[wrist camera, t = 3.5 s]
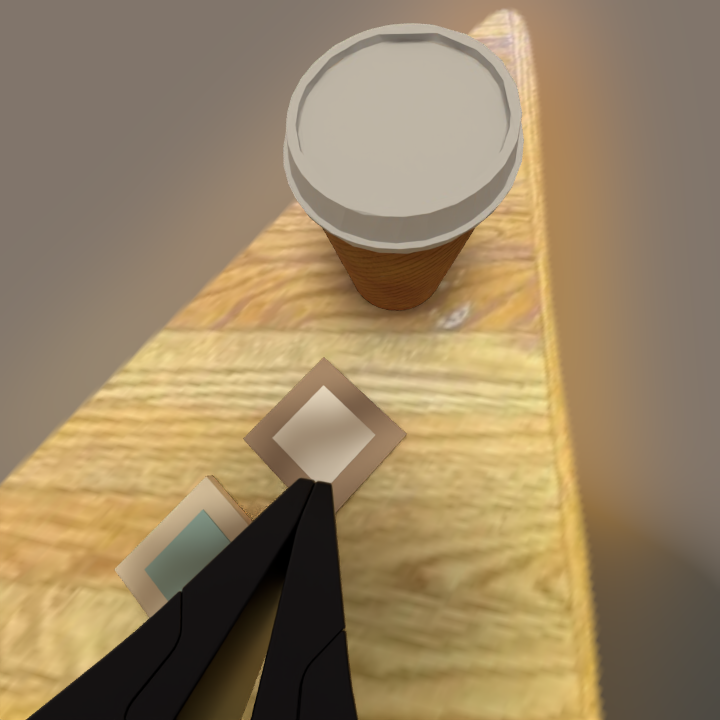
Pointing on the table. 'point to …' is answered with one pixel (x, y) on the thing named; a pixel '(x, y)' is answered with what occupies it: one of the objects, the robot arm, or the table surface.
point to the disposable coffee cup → (403, 153)
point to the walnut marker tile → (325, 433)
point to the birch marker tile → (182, 545)
